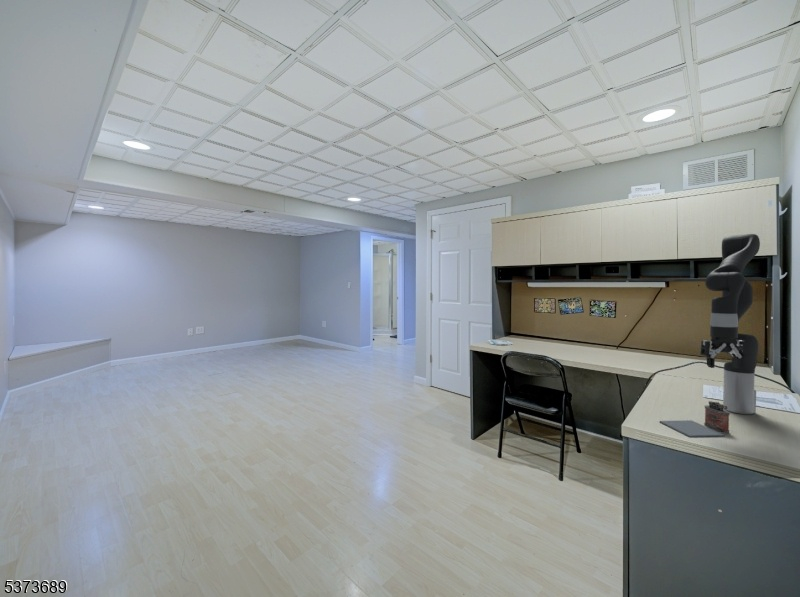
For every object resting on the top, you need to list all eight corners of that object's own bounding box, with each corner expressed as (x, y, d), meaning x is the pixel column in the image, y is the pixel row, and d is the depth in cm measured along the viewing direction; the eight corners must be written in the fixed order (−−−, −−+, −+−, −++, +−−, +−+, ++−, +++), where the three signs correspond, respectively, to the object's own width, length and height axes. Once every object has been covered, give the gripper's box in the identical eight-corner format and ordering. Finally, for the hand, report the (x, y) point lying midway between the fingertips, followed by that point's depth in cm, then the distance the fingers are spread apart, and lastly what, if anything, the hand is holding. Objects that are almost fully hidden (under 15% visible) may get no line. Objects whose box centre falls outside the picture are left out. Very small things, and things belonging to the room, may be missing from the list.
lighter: (701, 424, 128) (702, 399, 128) (709, 424, 129) (710, 398, 128) (723, 433, 120) (724, 406, 120) (732, 433, 121) (732, 406, 120)
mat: (691, 421, 131) (691, 420, 131) (724, 436, 118) (725, 434, 118) (659, 422, 130) (659, 420, 130) (689, 437, 117) (689, 435, 117)
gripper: (735, 323, 129) (734, 365, 129) (695, 324, 130) (695, 365, 131) (754, 326, 121) (753, 370, 122) (711, 326, 123) (711, 369, 123)
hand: (723, 367), depth 126 cm, fingers open, 8 cm apart
